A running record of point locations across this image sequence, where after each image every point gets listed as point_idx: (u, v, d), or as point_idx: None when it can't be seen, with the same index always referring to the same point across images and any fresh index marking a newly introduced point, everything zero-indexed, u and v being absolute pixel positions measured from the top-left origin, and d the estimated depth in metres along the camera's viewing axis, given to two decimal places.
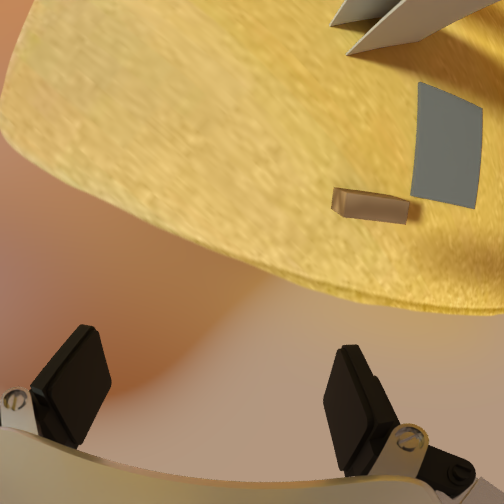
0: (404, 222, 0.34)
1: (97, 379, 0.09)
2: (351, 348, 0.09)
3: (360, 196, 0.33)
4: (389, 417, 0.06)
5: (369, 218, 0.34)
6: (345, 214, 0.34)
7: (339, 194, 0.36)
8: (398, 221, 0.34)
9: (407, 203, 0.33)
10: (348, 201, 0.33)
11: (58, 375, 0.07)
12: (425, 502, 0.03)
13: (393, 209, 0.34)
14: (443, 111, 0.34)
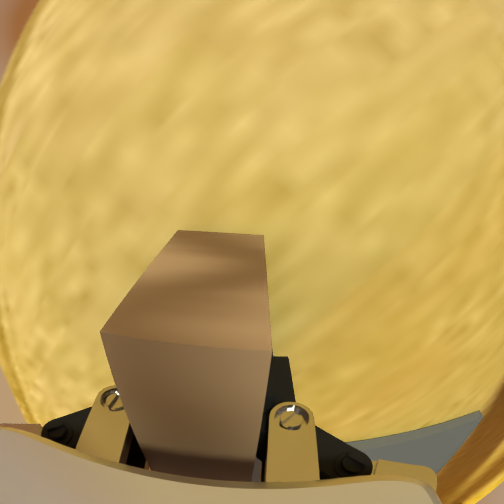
0: None
1: None
2: None
3: (252, 415, 0.05)
4: (273, 392, 0.07)
5: (143, 439, 0.06)
6: (120, 343, 0.05)
7: (243, 276, 0.07)
8: None
9: None
10: (208, 361, 0.05)
11: None
12: (425, 502, 0.03)
13: None
14: (427, 461, 0.16)
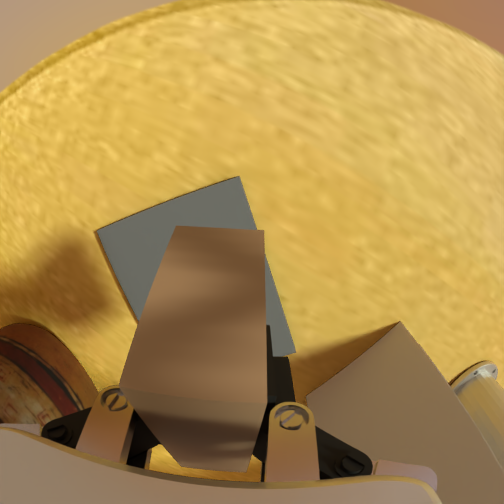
0: (185, 466, 0.10)
1: None
2: None
3: (250, 429, 0.06)
4: (272, 391, 0.07)
5: (160, 436, 0.07)
6: (137, 391, 0.05)
7: (243, 302, 0.07)
8: (183, 462, 0.10)
9: (241, 471, 0.10)
10: (214, 406, 0.05)
11: None
12: (425, 502, 0.03)
13: (216, 462, 0.09)
14: None
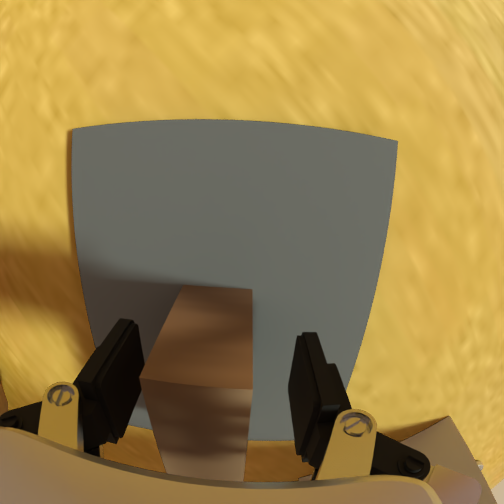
0: None
1: (136, 372, 0.10)
2: (309, 335, 0.10)
3: (241, 429, 0.07)
4: (336, 401, 0.07)
5: (163, 447, 0.08)
6: (153, 384, 0.07)
7: (235, 331, 0.09)
8: None
9: None
10: (212, 395, 0.07)
11: (105, 368, 0.08)
12: (425, 502, 0.03)
13: None
14: (262, 407, 0.15)
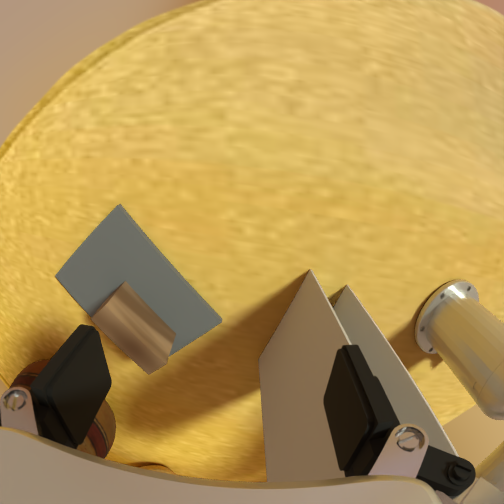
0: (148, 372, 0.29)
1: (97, 379, 0.09)
2: (351, 348, 0.09)
3: (116, 319, 0.27)
4: (389, 417, 0.06)
5: (114, 341, 0.28)
6: (93, 318, 0.27)
7: (112, 296, 0.29)
8: (142, 366, 0.29)
9: (162, 363, 0.29)
10: (102, 312, 0.27)
11: (58, 375, 0.07)
12: (425, 502, 0.03)
13: (143, 355, 0.29)
14: (173, 321, 0.34)
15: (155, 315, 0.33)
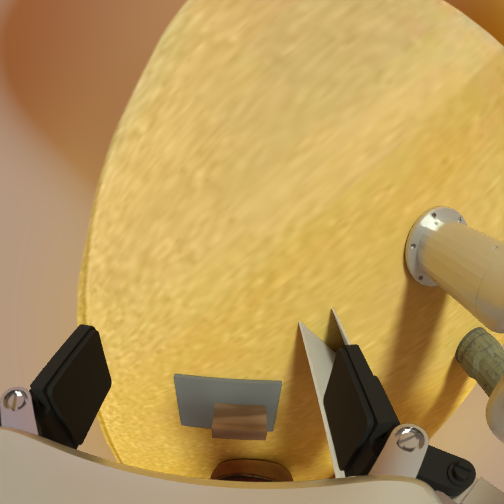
0: (264, 439, 0.42)
1: (97, 379, 0.09)
2: (351, 348, 0.09)
3: (222, 429, 0.41)
4: (389, 417, 0.06)
5: (232, 438, 0.42)
6: (213, 436, 0.42)
7: (213, 418, 0.44)
8: (258, 439, 0.42)
9: (265, 431, 0.41)
10: (214, 431, 0.41)
11: (58, 375, 0.07)
12: (425, 502, 0.03)
13: (252, 434, 0.41)
14: (258, 401, 0.46)
15: (245, 406, 0.46)
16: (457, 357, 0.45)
